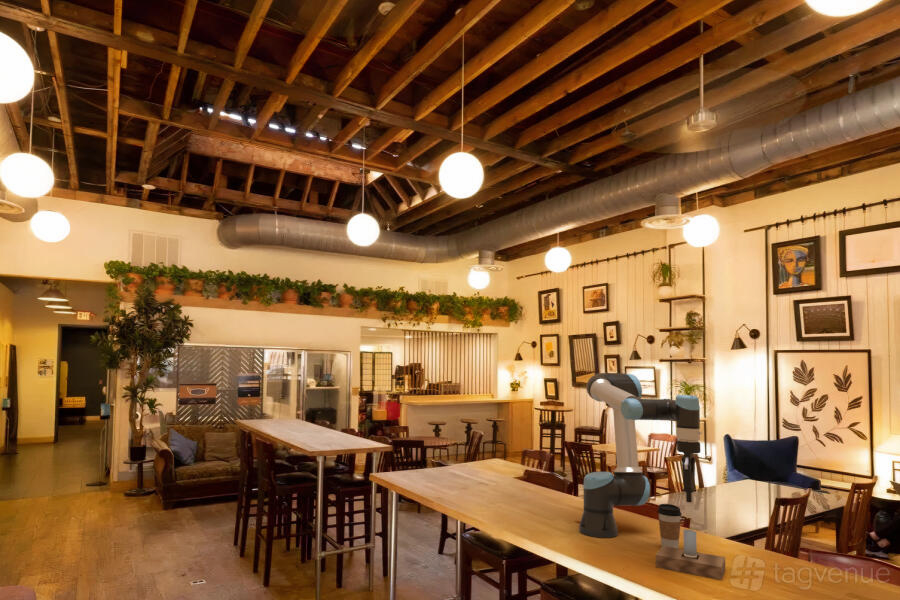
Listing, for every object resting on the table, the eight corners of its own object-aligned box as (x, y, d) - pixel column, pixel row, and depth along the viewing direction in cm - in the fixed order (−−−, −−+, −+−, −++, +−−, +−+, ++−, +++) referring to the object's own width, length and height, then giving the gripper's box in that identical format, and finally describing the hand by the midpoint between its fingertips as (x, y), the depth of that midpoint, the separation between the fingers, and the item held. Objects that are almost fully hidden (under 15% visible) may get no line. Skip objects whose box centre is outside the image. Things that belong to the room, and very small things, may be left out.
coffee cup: (676, 544, 215) (675, 503, 217) (686, 551, 207) (685, 509, 209) (654, 543, 215) (654, 503, 217) (663, 551, 207) (663, 508, 208)
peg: (683, 568, 188) (682, 531, 190) (685, 565, 192) (684, 528, 193) (696, 571, 186) (695, 533, 187) (698, 567, 189) (697, 530, 191)
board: (655, 567, 189) (655, 554, 189) (662, 557, 199) (662, 545, 199) (721, 580, 179) (721, 567, 179) (725, 569, 189) (725, 557, 189)
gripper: (697, 443, 186) (699, 517, 183) (702, 439, 197) (704, 509, 194) (673, 441, 190) (674, 513, 187) (679, 438, 201) (681, 506, 198)
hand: (689, 511), depth 191 cm, fingers closed
